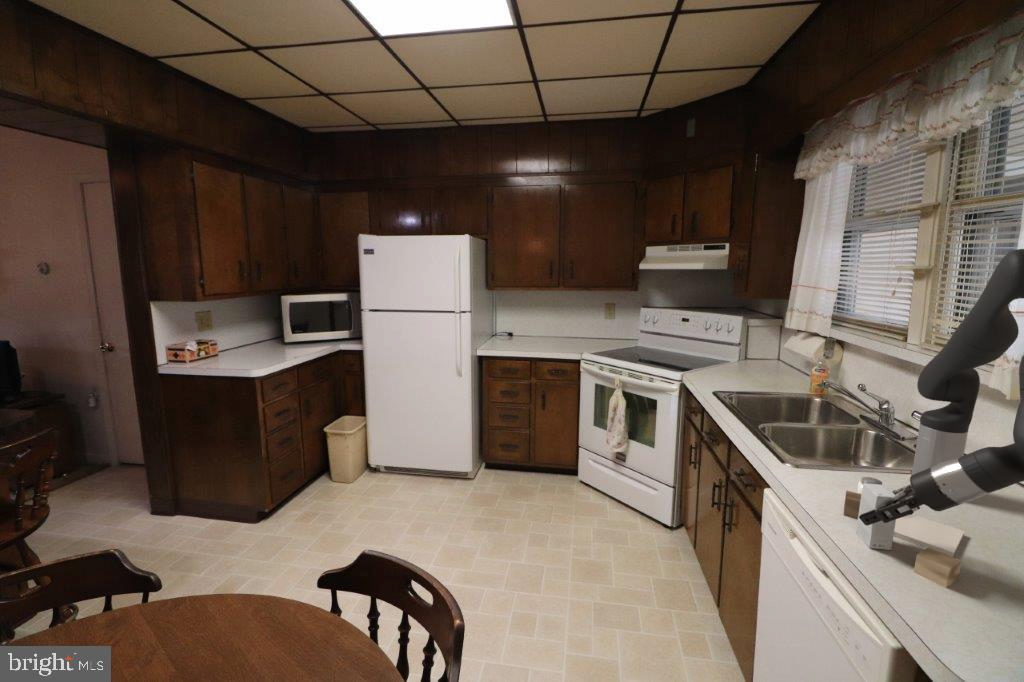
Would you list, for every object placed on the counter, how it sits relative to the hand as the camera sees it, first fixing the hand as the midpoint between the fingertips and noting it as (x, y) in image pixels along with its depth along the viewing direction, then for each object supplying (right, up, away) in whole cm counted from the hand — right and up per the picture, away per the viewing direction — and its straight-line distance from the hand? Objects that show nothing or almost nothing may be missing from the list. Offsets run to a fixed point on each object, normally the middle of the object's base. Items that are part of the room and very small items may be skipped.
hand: (868, 514), depth 102 cm
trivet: (+14, -5, +3) cm, 15 cm away
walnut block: (+5, -4, +11) cm, 12 cm away
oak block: (+5, -8, -11) cm, 14 cm away
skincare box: (+1, -6, 0) cm, 6 cm away
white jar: (+10, -3, +14) cm, 17 cm away
